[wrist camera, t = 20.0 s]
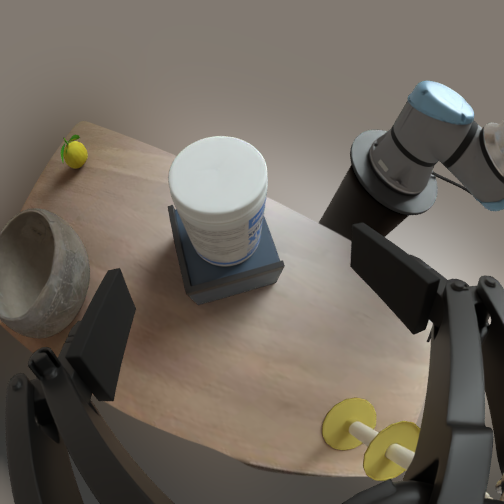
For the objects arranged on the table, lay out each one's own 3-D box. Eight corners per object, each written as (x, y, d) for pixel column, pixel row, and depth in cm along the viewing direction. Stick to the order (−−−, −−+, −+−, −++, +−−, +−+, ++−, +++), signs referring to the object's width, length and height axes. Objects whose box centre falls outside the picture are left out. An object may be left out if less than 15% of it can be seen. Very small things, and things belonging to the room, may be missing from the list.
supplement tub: (264, 264, 36) (278, 212, 22) (193, 272, 36) (165, 225, 22) (254, 201, 40) (261, 130, 26) (190, 208, 39) (168, 140, 25)
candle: (310, 437, 35) (417, 554, 4) (343, 388, 38) (505, 430, 7) (354, 456, 34) (476, 543, 3) (385, 410, 36) (538, 447, 6)
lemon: (77, 181, 50) (56, 154, 40) (67, 169, 51) (48, 144, 41) (98, 160, 51) (80, 132, 42) (88, 150, 52) (71, 123, 43)
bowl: (59, 221, 46) (19, 185, 32) (126, 263, 44) (84, 229, 30) (17, 304, 40) (-31, 287, 25) (77, 363, 37) (22, 363, 23)
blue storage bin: (252, 213, 48) (254, 183, 39) (276, 282, 44) (284, 265, 35) (180, 232, 46) (167, 206, 37) (198, 305, 42) (186, 294, 33)
